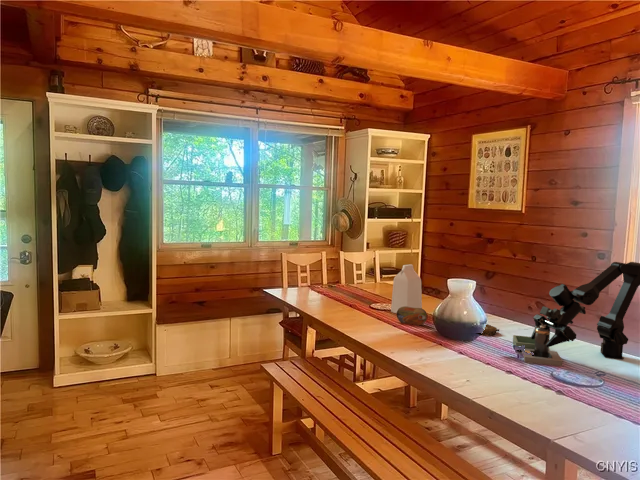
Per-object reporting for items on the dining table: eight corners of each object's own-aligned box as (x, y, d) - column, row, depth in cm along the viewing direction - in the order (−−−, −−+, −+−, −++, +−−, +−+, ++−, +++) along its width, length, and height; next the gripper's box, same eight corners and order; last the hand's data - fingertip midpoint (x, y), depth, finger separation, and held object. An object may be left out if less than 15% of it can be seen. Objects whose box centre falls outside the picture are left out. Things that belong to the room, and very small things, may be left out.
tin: (396, 322, 224) (396, 305, 223) (398, 320, 226) (398, 304, 226) (426, 326, 217) (426, 309, 216) (427, 325, 219) (428, 308, 219)
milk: (406, 316, 235) (408, 267, 232) (390, 311, 244) (392, 264, 242) (422, 313, 242) (423, 265, 239) (406, 308, 251) (407, 262, 249)
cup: (539, 345, 191) (540, 337, 190) (544, 353, 181) (544, 345, 180) (512, 342, 194) (513, 335, 194) (515, 350, 184) (516, 342, 183)
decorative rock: (461, 328, 216) (482, 339, 202) (461, 320, 215) (483, 330, 202) (480, 325, 220) (503, 335, 206) (481, 317, 219) (503, 327, 205)
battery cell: (546, 357, 176) (549, 324, 175) (549, 362, 171) (551, 328, 170) (532, 356, 178) (534, 323, 176) (534, 360, 173) (536, 327, 172)
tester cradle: (556, 356, 178) (556, 350, 178) (562, 366, 167) (562, 360, 167) (520, 352, 182) (521, 346, 181) (524, 362, 171) (525, 356, 171)
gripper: (538, 294, 182) (512, 321, 181) (571, 305, 164) (542, 335, 163) (555, 313, 184) (528, 340, 183) (589, 326, 166) (560, 356, 165)
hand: (539, 342), depth 174 cm, fingers open, 9 cm apart
